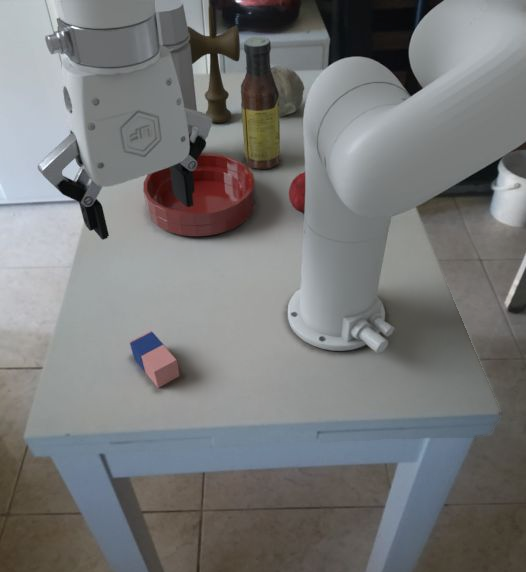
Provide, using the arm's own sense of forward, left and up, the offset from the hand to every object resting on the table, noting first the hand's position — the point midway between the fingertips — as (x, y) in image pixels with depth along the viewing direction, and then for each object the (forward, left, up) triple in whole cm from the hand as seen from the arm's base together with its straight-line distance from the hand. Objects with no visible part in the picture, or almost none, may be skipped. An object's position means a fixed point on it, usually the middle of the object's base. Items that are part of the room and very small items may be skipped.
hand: (142, 215), depth 59 cm
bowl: (+22, -19, -19) cm, 34 cm away
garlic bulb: (+40, -49, -19) cm, 66 cm away
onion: (+10, -31, -19) cm, 38 cm away
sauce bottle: (+27, -35, -19) cm, 48 cm away
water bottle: (+36, -23, -19) cm, 47 cm away
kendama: (+45, -38, -19) cm, 62 cm away
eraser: (-3, +4, -19) cm, 19 cm away
